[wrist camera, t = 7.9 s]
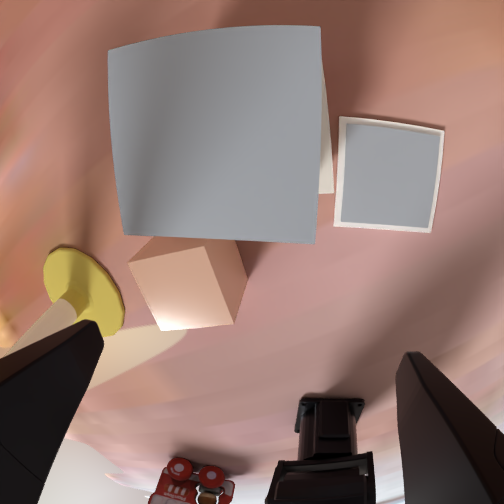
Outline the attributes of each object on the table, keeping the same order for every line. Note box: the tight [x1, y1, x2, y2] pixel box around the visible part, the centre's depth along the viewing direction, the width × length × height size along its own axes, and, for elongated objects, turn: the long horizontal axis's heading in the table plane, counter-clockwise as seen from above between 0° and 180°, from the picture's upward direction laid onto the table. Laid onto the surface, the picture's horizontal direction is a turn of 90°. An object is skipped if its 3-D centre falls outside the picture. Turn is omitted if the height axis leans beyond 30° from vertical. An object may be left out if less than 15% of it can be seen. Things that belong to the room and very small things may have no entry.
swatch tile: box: [333, 116, 444, 233], centre depth 16 cm, size 7×7×1 cm
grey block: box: [108, 25, 322, 244], centre depth 10 cm, size 6×6×6 cm
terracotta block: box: [127, 236, 248, 331], centre depth 19 cm, size 5×5×5 cm
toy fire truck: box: [148, 458, 235, 504], centre depth 35 cm, size 7×12×10 cm, turn 84°
